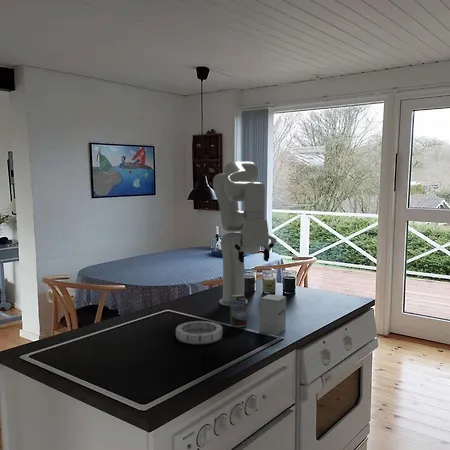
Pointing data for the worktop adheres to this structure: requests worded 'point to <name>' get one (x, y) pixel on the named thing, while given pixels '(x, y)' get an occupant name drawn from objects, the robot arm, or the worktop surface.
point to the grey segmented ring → (199, 332)
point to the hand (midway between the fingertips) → (253, 261)
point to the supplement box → (272, 314)
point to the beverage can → (238, 310)
